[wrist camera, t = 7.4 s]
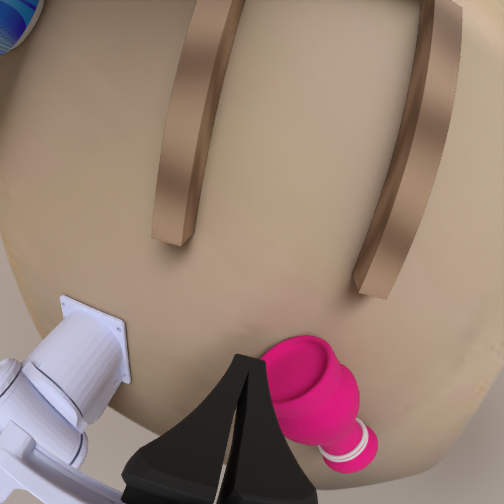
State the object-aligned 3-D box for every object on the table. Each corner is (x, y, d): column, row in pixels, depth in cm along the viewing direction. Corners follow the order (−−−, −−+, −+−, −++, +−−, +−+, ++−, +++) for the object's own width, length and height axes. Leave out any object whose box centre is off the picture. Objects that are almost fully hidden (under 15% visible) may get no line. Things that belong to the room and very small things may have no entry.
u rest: (377, 280, 18) (386, 299, 16) (167, 225, 19) (151, 238, 17) (446, -14, 9) (460, -26, 6) (241, -70, 9) (234, -88, 7)
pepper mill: (295, 318, 22) (358, 423, 29) (226, 379, 20) (318, 464, 26) (362, 348, 16) (401, 449, 22) (278, 434, 13) (357, 495, 20)
